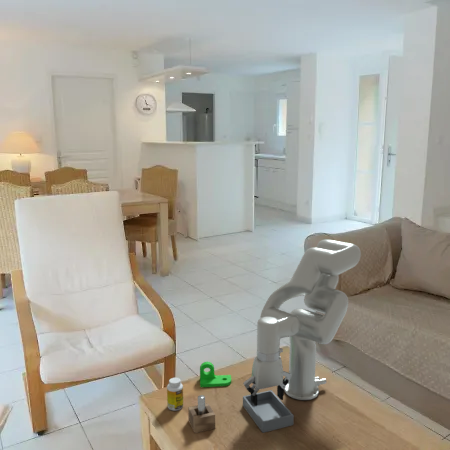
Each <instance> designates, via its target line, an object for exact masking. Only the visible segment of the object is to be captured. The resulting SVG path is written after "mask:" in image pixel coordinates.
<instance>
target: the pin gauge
mask: <svg viewBox="0 0 450 450" xmlns="http://www.w3.org/2000/svg"><path fill="white" fill-rule="evenodd" d="M205 404H206V396H205V395H203V394H201V395H197V405H198V415H203V414H205Z"/></svg>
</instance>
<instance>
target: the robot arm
mask: <svg viewBox="0 0 450 450" xmlns="http://www.w3.org/2000/svg"><path fill="white" fill-rule="evenodd" d="M361 257H362V252H361V249H360V247H359V246H358V245H357V244H354V243H350V242H346V241H339V240H333V239H321V240H320V241H318V242H317V244H316V246H315V247H309V248H307V249H306V250H305V251H304V253H303V255H302V257H301V259H300V261H299V263H298V265H297V267H296V269H295V271H294V272H293V275H292V277H291V279H290V280H289V281H288V282H287V283H285V284H283V285H282V286H280V287H279V288H277V289H276V290H274V292H272V293H271V294H270V295H269V296H268V297H267V301H266V302H265V303H264V306H263V308H262V310H261V312H260V317H259V319H258V320H257V324H256V356H254V358H253V362H252V368H251V377H248V379H247V380H245V381H244V382H243V386H244V387H245V389H246V391H247V392H249V393H250V395H251V402H252V403H253V404H254V405H255V406H257V394H256V393H259V391H260V390H262V389H263V390H264V389H268V388H274V387H276V388H277V392H276V396H277V397H278V398H279V399H280V400H281V401H283V400H284V396H285V394H286V395H287V396H288V397H289V398H290V397H291V398H292V399H294V400H299V401H310V400H314V399H315V398H317V397H318V396H319V394H320V392H319V391H320V389H319V386H321V385H325V384H327V379H326V378H324V377H323V378H320V376H316V366H317V365H316V364H317V363H316V361H317V359H316V358H317V357H316V356H317V345H316V343H318V344H321V345H328V344H330V343H331V341H333V339H334V338H335V336H336V334H337V332H338V330H339V327H340V325H341V324H342V323H343V322H342V321H343V320H344V317H345V316H346V314H347V310H348V308H349V298H348V296H347V294H346V293H345V292H343V291H342V290H340V289H336V288H337V286H338V284H339V280H340V277H339V275H341V274H344V273H345V272H347V271H349V270H350V269H353V268H354V267H356V266H357V265H358V263H359V262H360V260H361ZM303 296H304V299H303V303H304V305H305V307H307V308H308V309H310V310H308V309H305V308H296V309H293V310H292V311H291V312H287V311H285V310H281V309H280V308H281V306H282V305H283V304H284V303H286V301H288V300H291V299H294V298H298V297H303ZM317 312H318V313H317ZM320 313H321V314H320ZM323 314H324V315H323ZM285 338H289V359H288V360H289V361H288V362H289V363H288V364H289V365H288V371H285V370H284V368H283V367H284V366H283V361H282V357H281V354H282V353H283V352H284V349H283V348H282V347H281V345H280V344H281V343H280V342H281V339H285ZM280 347H281V348H280ZM251 384H252V385H251ZM250 385H251V386H250Z"/></svg>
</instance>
